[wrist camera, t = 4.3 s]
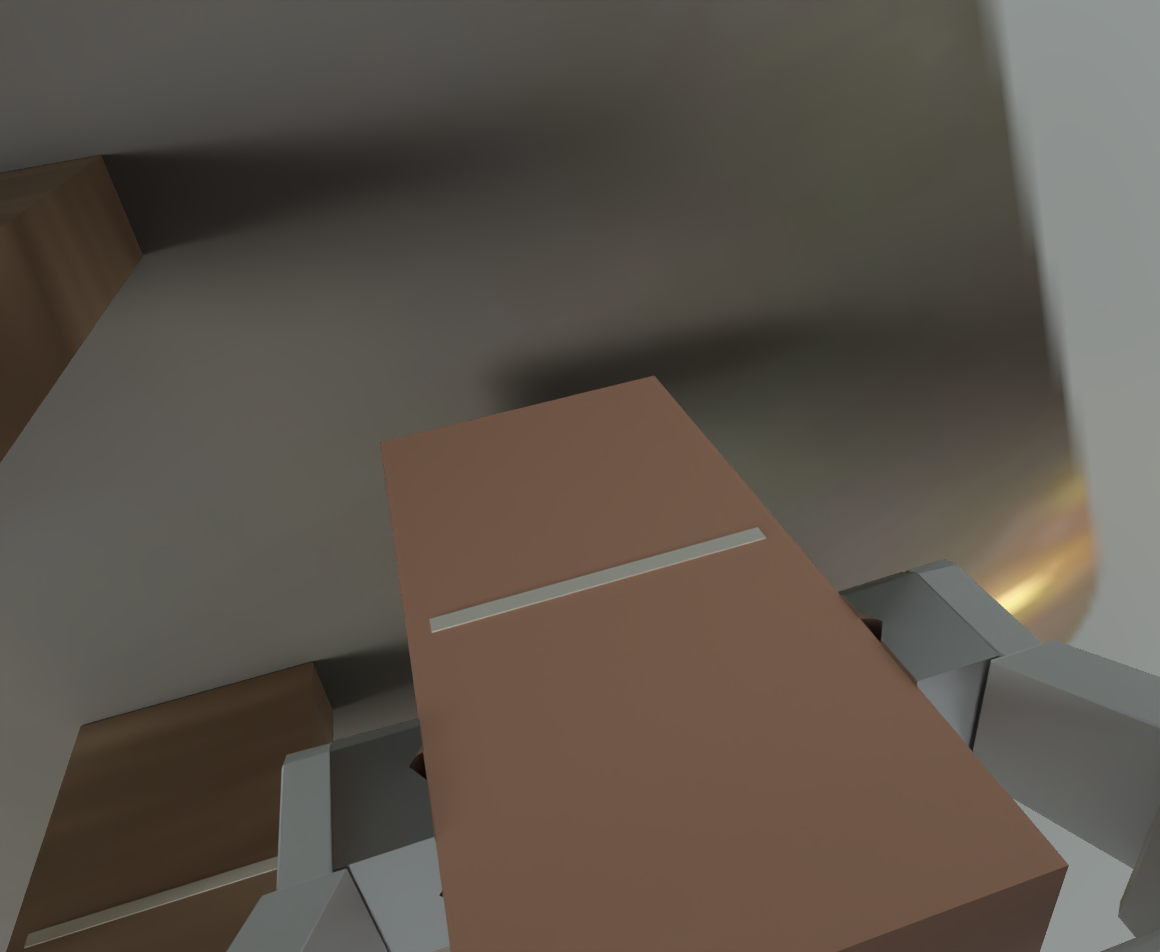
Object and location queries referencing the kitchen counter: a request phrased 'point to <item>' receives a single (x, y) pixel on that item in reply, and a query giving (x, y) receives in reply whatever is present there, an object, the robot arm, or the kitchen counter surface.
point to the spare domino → (674, 711)
